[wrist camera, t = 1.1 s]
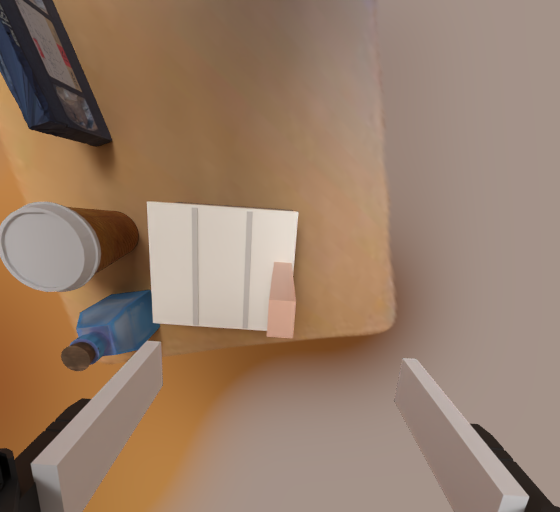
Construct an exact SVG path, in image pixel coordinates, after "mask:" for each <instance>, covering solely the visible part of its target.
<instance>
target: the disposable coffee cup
mask: <svg viewBox="0 0 560 512" xmlns="http://www.w3.org/2000/svg"><path fill="white" fill-rule="evenodd" d="M137 242H138V230H137V228H136V225H135V224H134V222H133V221H132V220H131V219H130V218H129V217H128V216H127V215H125V214H123V213H121V212H117V211H105V210H94V209H82V208H71V207H65V206H62V205H59V204H56V203H51V202H34V203H30V204H27V205H25V206H23V207H21V208H20V209H19V210H16V211H15V212H12V213H11V214H10V215H8V216H7V218H6V219H5V220H4V221H3V222H2V224H1V226H0V257H1V259H2V261H3V263H4V265H5V266H6V268H7V269H8V270H9V271H10V272H11V274H12V275H13V276H14V277H15V278H17V279H18V280H19V281H20V282H22V283H23V284H25V285H27V286H29V287H31V288H33V289H37V290H41V291H46V292H49V291H50V292H51V291H57V292H64V291H71V290H75V289H78V288H80V287H82V286H83V285H85V284H86V283H87V282H88V281H89V280H90V279H91V278H92V277H93V275H94V274H96V273H97V272H99V271H100V270H102V269H103V268H105V267H107V266H108V265H110V264H112V263H113V262H114V261H116V260H117V259H119V258H121V257H122V256H124V255H126V254H127V253H129V252H130V251H132V250H133V249H134V248H135V246H136V244H137Z"/></svg>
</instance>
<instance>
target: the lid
mask: <svg viewBox="0 0 560 512" xmlns="http://www.w3.org/2000/svg"><path fill="white" fill-rule="evenodd" d="M147 215H148V235H149V254H150V274H151V293H152V313H153V323H159V324H173V325H188V326H203V327H218V328H232V329H247V330H262V331H267V337H280V338H293V331H294V320H295V309H296V296H295V288H294V280H293V271H294V259H295V247H296V235H297V223H298V211H284V210H270V209H256V208H241V207H227V206H212V205H198V204H184V203H169V202H155V201H147Z"/></svg>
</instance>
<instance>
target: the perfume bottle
mask: <svg viewBox="0 0 560 512" xmlns="http://www.w3.org/2000/svg"><path fill="white" fill-rule="evenodd" d="M159 327H160V324H159V323H153V313H152V293H151V290H145V291H137V292H128V293H120V294H111V295H109V296H108V297H106V298H104V299H103V300H101V301H99V302H98V303H96V304H94V305H92V306H91V307H89V308H87V309H86V310H84V311H82V312H80V316H79V320H78V324H77V328H76V330H77V333H78V336H79V337H78V338H77V339H76V340H74V341H73V342H71V344H70V346H68V347H66V348H65V349H64V350H63V351H62V354H61V358H62V361H63V363H64V364H65V366H67V367H68V368H69V369H71V370H74V371H83V370H85V369H86V368H87V367H88V366H89V365H91V364H94V363H95V362H96V361H98V360H99V359H100V358H101V357H102V356H108V355H117V354H122V353H126V352H131V351H135V350H139V349H140V347H141V346H142V345H143V344H144V343H145V342H146V341H147V340H148V339H149V338H150V337H151V336H152V335H153V334H154V333H155V332H156V331H157V330H158V328H159Z"/></svg>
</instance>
